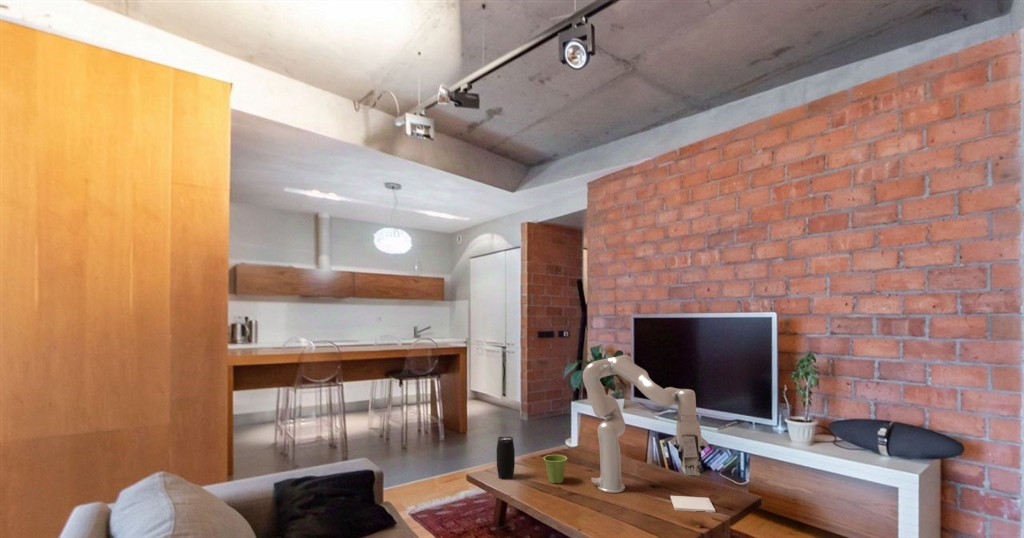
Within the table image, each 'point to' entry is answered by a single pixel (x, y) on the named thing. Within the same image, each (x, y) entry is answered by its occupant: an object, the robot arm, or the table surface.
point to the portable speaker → (505, 457)
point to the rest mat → (692, 504)
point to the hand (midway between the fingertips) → (690, 460)
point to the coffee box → (690, 455)
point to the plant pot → (555, 467)
